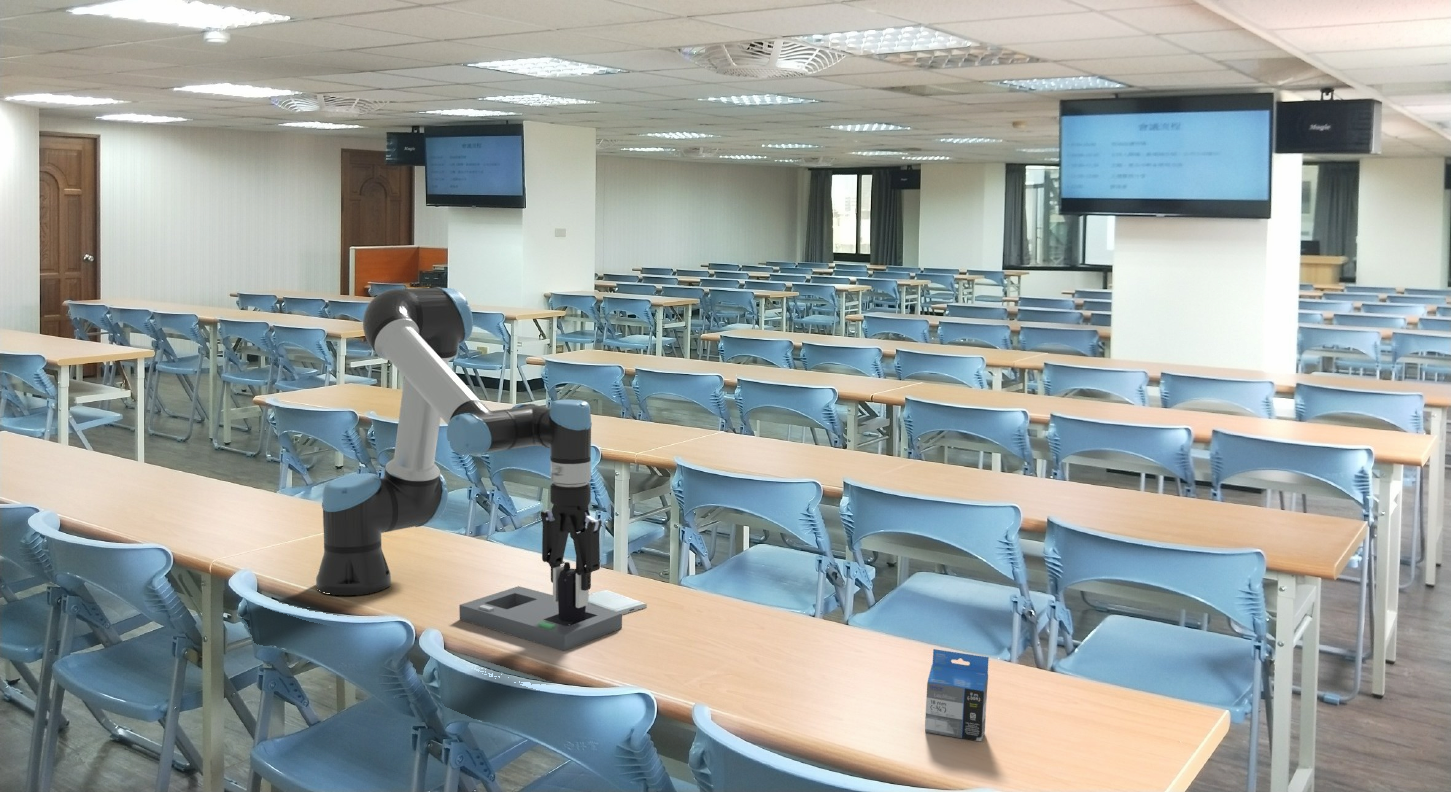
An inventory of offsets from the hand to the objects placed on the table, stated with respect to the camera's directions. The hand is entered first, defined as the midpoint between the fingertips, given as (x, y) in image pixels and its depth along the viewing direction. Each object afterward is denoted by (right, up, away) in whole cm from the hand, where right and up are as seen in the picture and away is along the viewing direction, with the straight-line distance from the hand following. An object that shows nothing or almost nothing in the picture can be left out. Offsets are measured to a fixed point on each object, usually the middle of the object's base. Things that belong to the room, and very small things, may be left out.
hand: (570, 602), depth 227 cm
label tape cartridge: (+65, -13, -42) cm, 78 cm away
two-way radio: (0, -4, 0) cm, 4 cm away
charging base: (-7, -5, +5) cm, 10 cm away
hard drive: (+6, -4, +18) cm, 20 cm away
